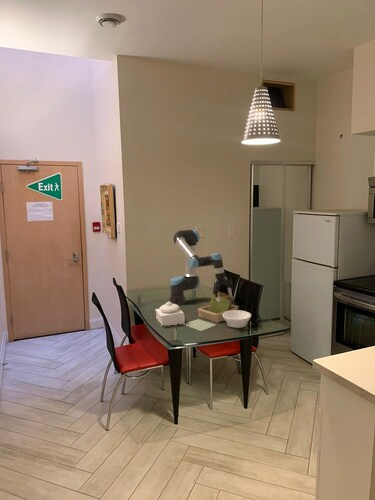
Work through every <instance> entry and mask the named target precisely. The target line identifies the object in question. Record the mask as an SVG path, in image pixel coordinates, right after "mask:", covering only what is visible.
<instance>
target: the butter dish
mask: <svg viewBox="0 0 375 500" xmlns="http://www.w3.org/2000/svg"><path fill="white" fill-rule="evenodd" d="M154 310H155V316H156V320H157V319H158V321H159V322H160V323H161V325H175V326H178V325H177V324H180V325H183V324H185V322H186V321H185V313H184V312H183V311H182V310H181V309H180V305H176V304H172V303H171V302H169V301H166V303H165V304H162V305H160V306H159V308H155V309H154ZM158 321H157V322H158ZM159 322H158V323H159ZM161 325H160V326H161Z"/></svg>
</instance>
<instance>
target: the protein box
mask: <svg viewBox="0 0 375 500" xmlns="http://www.w3.org/2000/svg"><path fill="white" fill-rule="evenodd" d="M218 293H219V298H220V301H217V299H216V296H215V293H213V292H212V294H211V297H210V298H211V300H210V302H209V304H208V305H209V308H208V311H210V312H213V313H216V314H219V313H222V312H224V311H227V310H230V308H231V305H233V301H234V298H235V297H234V296H233V295H232V296H229V294H227V293H225V292H221V291H218Z"/></svg>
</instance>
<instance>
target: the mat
mask: <svg viewBox="0 0 375 500" xmlns="http://www.w3.org/2000/svg"><path fill="white" fill-rule="evenodd" d="M182 325H183V326H185V325H186V327H188V326H189V327H188V328H191V329H193V328H194V330H196V329H197V331H199V332H203V331H206V330H208V329H210V328H213V327H216V326H217V324H215V323H212V322H209V321H205V320H202V319H199V318H196V319H195V320H191V321H188V322H186V323H185V324H182Z"/></svg>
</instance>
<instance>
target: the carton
mask: <svg viewBox="0 0 375 500" xmlns="http://www.w3.org/2000/svg"><path fill="white" fill-rule="evenodd" d="M209 305H210V304H208V305H205V306H201V307H199V308H197V309H196V310H197V311H198V317H200V318H203V319H205V320H209V321H212V322H215V323H220V322H223V321H225V319H224V317H223V313H224V312H227V311H231V310H239V307H240V306H239V305H235V304H232V305H231V308H230V310H227V311H224V312H222V313H219V314H216V313H213V312H210V311H208V308H209Z"/></svg>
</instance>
